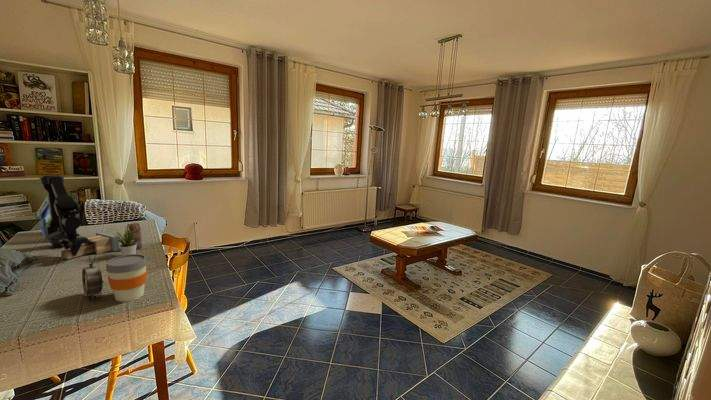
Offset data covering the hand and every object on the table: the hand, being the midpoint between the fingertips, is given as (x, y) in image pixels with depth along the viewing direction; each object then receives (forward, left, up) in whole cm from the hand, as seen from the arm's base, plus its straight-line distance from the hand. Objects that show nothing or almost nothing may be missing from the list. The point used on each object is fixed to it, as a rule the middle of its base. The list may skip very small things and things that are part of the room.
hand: (71, 254), depth 147 cm
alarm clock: (+52, -17, -2) cm, 55 cm away
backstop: (0, +16, -2) cm, 16 cm away
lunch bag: (-45, +15, -2) cm, 47 cm away
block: (0, +11, -2) cm, 11 cm away
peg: (-1, +4, -1) cm, 4 cm away
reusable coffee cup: (+63, -11, -2) cm, 64 cm away
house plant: (+22, +15, -2) cm, 27 cm away
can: (+12, +23, -2) cm, 26 cm away
